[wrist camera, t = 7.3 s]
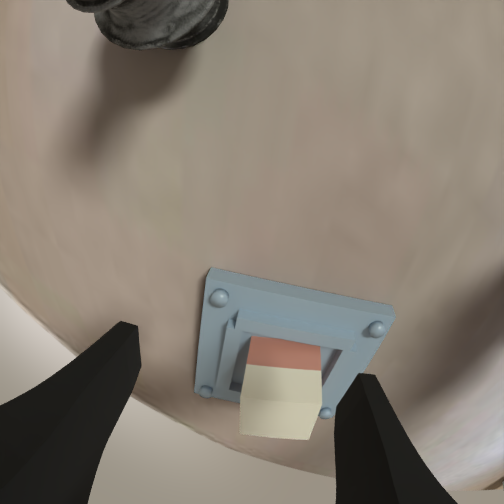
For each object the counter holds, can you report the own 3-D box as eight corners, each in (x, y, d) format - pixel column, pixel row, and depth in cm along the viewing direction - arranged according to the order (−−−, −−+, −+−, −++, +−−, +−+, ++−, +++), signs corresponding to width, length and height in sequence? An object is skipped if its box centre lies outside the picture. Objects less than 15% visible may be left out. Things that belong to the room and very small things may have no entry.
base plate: (391, 305, 20) (398, 325, 18) (331, 406, 26) (332, 425, 24) (210, 267, 20) (203, 285, 18) (197, 381, 26) (191, 400, 24)
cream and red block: (319, 342, 20) (322, 404, 16) (309, 383, 23) (308, 440, 18) (251, 335, 21) (240, 397, 16) (249, 377, 23) (239, 434, 19)
